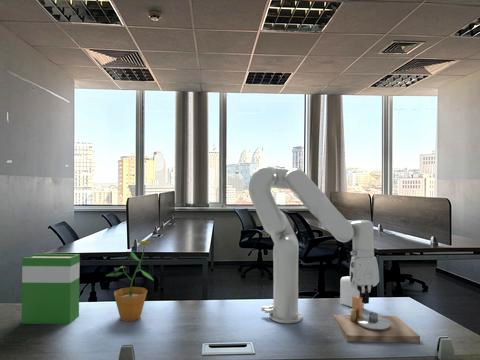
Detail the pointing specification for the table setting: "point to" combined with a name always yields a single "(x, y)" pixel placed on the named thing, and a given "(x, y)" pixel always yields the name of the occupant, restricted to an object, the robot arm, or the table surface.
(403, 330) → the walnut board
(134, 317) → the potted plant
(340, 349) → the table surface
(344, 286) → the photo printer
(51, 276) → the hardback book
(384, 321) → the flange plate
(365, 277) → the robot arm
